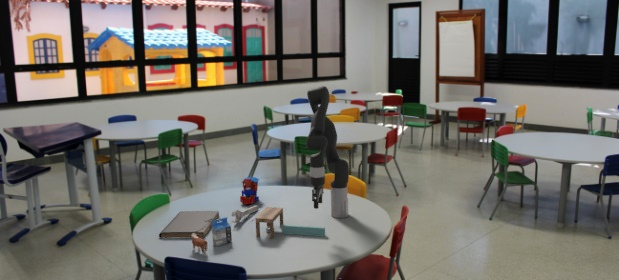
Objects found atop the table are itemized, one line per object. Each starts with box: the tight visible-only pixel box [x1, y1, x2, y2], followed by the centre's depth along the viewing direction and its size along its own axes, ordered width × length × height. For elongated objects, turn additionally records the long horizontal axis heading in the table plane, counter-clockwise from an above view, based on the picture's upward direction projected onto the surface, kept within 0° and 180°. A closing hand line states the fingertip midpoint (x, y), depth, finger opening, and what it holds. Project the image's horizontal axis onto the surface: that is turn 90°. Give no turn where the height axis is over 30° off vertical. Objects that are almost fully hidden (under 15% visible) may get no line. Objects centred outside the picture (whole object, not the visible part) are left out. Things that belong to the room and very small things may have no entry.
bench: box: [255, 206, 284, 240], centre depth 280 cm, size 9×18×10 cm, turn 166°
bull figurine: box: [189, 233, 208, 256], centre depth 257 cm, size 4×13×8 cm, turn 41°
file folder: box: [158, 210, 220, 239], centre depth 292 cm, size 33×4×24 cm
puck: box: [265, 226, 275, 234], centre depth 281 cm, size 4×4×2 cm
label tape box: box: [211, 217, 233, 247], centre depth 266 cm, size 9×4×12 cm, turn 126°
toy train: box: [239, 176, 260, 205], centre depth 330 cm, size 10×16×15 cm, turn 172°
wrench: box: [231, 205, 259, 224], centre depth 304 cm, size 8×2×30 cm
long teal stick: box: [280, 223, 326, 237], centre depth 276 cm, size 23×2×4 cm, turn 75°
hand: (318, 205), depth 271 cm, fingers open, 8 cm apart
